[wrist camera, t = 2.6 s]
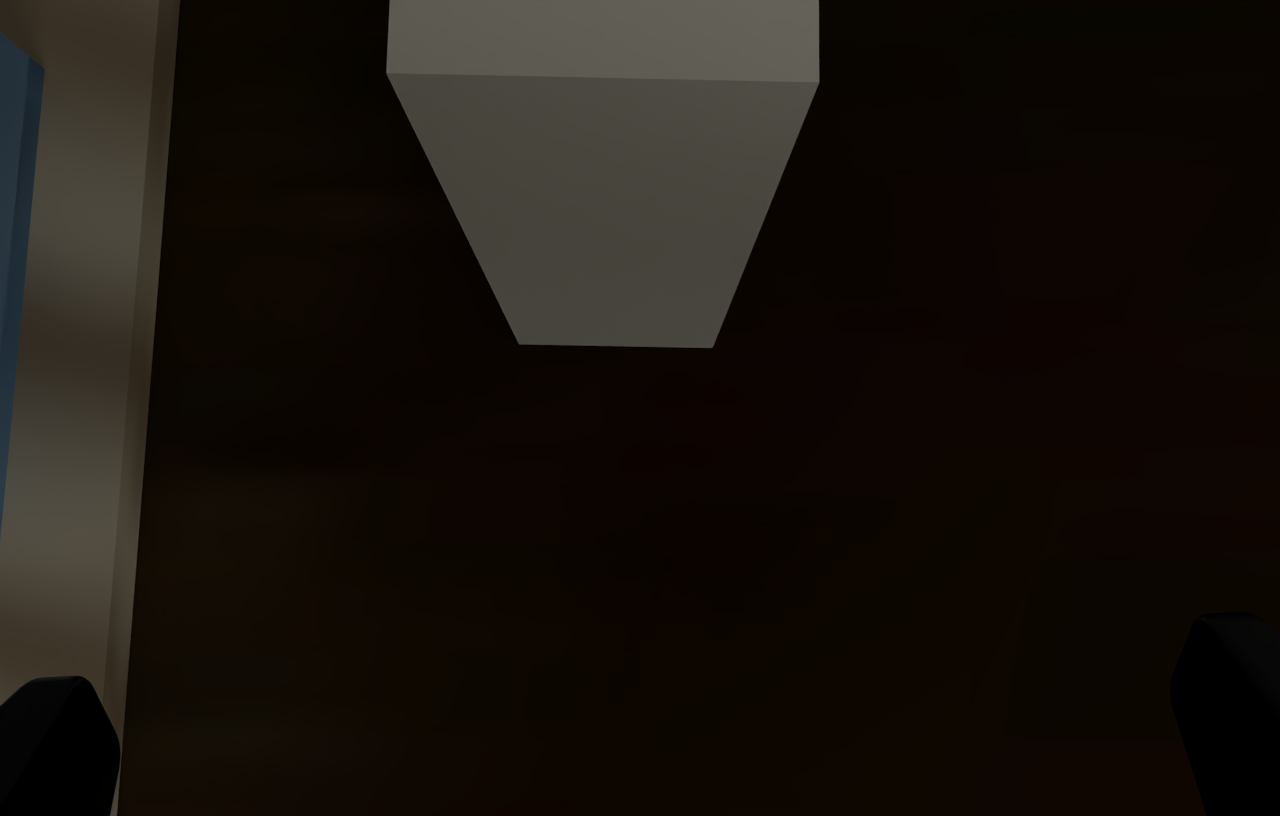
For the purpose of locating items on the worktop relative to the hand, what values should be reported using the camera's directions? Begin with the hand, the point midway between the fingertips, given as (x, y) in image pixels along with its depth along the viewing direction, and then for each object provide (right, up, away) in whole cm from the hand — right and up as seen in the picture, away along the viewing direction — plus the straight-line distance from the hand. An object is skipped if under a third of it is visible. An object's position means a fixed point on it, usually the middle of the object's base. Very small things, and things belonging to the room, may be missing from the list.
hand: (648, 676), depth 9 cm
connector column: (-1, +5, +14) cm, 15 cm away
